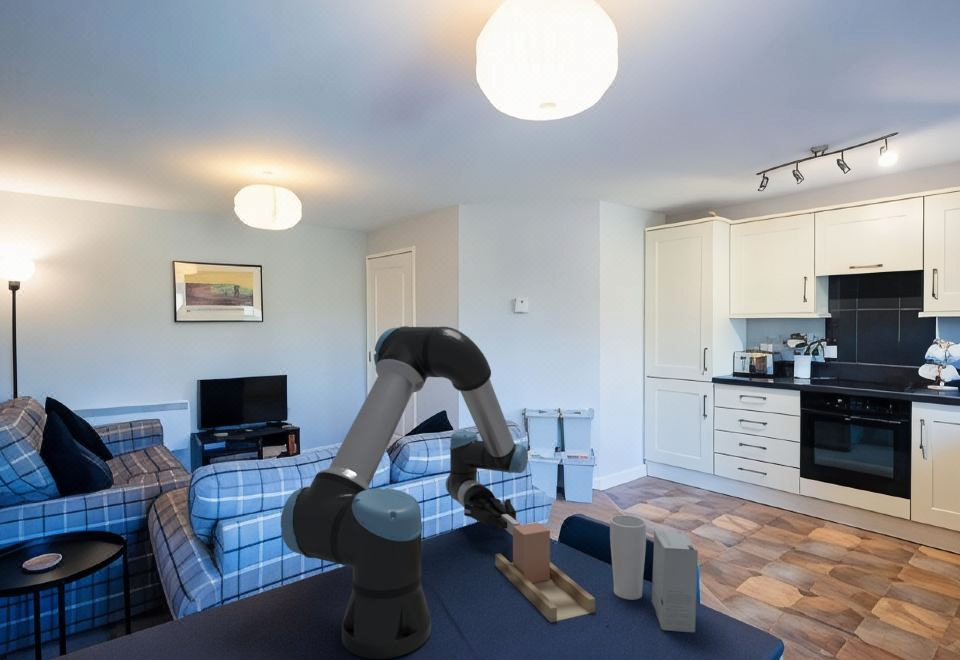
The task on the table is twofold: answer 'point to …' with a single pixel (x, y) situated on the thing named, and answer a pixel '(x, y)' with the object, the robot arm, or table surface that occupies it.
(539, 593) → the shallow wooden tray
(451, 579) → the table surface
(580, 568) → the table surface
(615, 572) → the drinking glass
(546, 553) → the terracotta block
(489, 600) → the table surface
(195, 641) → the table surface
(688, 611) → the skincare box
